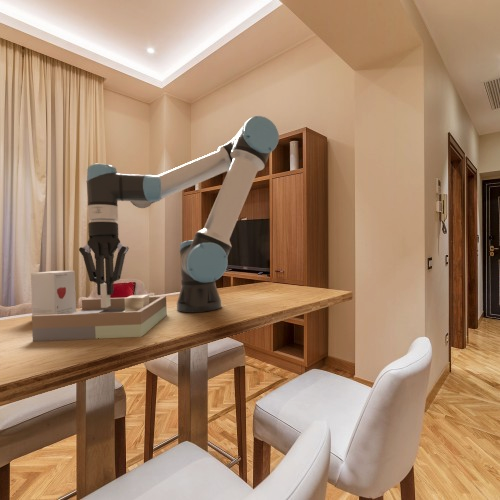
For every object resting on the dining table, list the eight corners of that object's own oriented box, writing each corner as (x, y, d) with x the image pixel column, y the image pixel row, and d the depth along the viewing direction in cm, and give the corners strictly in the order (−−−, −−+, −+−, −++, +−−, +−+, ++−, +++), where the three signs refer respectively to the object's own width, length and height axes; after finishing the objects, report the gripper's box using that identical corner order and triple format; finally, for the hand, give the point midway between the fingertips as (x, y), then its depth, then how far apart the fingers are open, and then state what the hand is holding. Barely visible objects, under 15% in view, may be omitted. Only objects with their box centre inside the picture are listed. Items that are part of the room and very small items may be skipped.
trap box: (166, 314, 100) (166, 296, 99) (141, 336, 76) (140, 311, 75) (84, 318, 99) (83, 299, 99) (32, 341, 75) (31, 316, 75)
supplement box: (55, 321, 97) (53, 272, 97) (31, 320, 99) (29, 273, 98) (77, 314, 106) (75, 270, 106) (54, 314, 108) (52, 270, 107)
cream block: (149, 312, 90) (148, 294, 90) (143, 316, 85) (143, 297, 85) (132, 312, 90) (131, 295, 90) (125, 316, 85) (124, 298, 85)
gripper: (72, 221, 83) (75, 310, 83) (121, 220, 83) (124, 308, 84) (86, 223, 91) (89, 304, 91) (131, 222, 91) (134, 303, 91)
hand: (105, 306), depth 87 cm, fingers closed
